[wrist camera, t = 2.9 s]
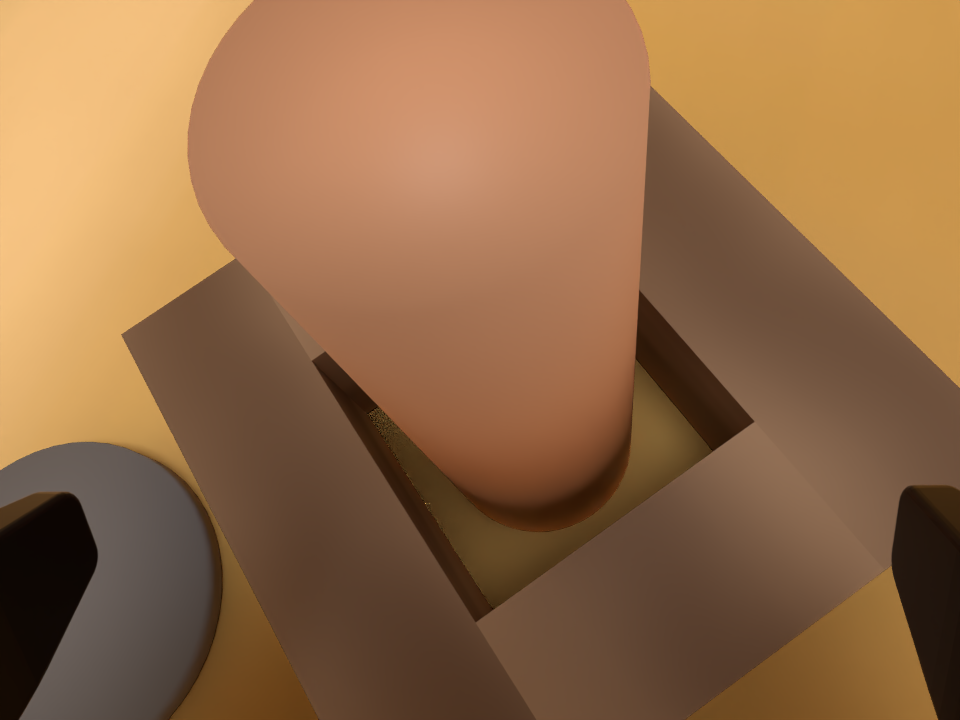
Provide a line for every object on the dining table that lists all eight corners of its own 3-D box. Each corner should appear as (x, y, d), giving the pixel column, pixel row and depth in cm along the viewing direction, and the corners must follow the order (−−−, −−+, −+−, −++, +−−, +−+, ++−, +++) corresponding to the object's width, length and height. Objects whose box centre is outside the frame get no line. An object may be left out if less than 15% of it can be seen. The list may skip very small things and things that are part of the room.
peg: (515, 569, 19) (323, 412, 7) (416, 421, 20) (118, 78, 8) (669, 459, 19) (757, 115, 7) (559, 322, 21) (474, -148, 9)
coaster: (-13, 854, 18) (-40, 862, 17) (-107, 562, 21) (-133, 559, 20) (276, 648, 19) (262, 648, 18) (146, 392, 22) (129, 383, 21)
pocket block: (464, 858, 17) (420, 917, 13) (206, 389, 22) (121, 334, 18) (945, 500, 18) (1033, 459, 14) (592, 128, 22) (587, 24, 19)
